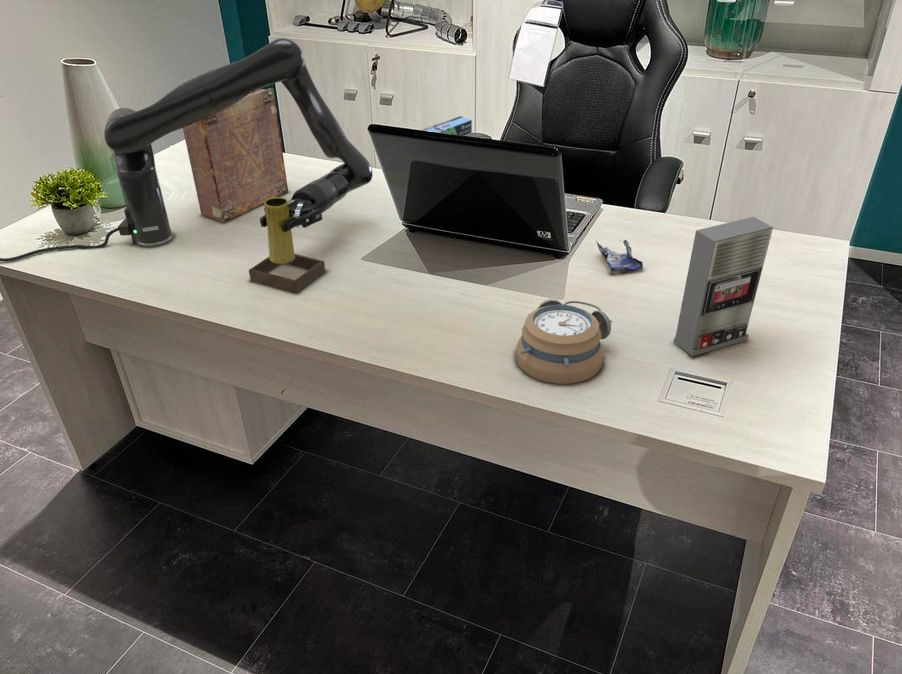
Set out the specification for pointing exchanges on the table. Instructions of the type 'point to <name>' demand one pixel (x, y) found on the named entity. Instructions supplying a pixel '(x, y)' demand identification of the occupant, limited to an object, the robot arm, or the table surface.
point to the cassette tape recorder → (722, 284)
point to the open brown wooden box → (295, 286)
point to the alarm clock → (562, 342)
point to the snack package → (620, 259)
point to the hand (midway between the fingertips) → (272, 225)
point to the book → (237, 157)
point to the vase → (278, 231)
